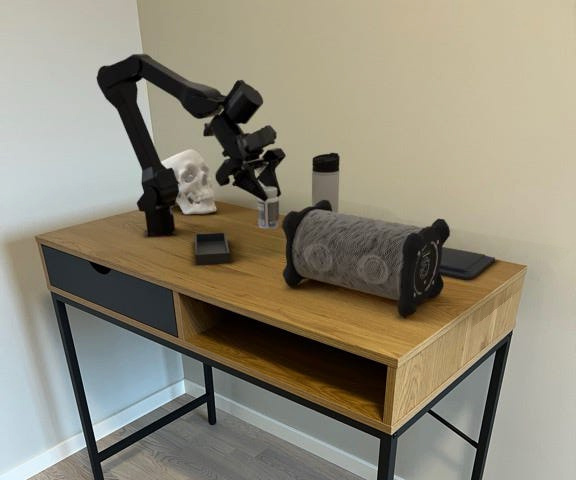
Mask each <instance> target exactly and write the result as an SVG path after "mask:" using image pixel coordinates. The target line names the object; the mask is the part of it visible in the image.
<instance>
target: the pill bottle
mask: <svg viewBox="0 0 576 480" xmlns="http://www.w3.org/2000/svg"><path fill="white" fill-rule="evenodd" d="M262 188H263V189H264V191H265V193H266V195H267V197H268V199H267V200H266V201H263V200H261V199H259V198H258V197H257V217H258V218H257V221H258V223H257V225H258V227H259V228H260V229H263V230H264V229H265V230H274V229H277V228H279V227H280V199H279V197H277V196H276V195H277V188H276V187H270V186H269V187H265V186H262Z"/></svg>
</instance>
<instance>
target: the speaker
mask: <svg viewBox="0 0 576 480" xmlns="http://www.w3.org/2000/svg"><path fill="white" fill-rule="evenodd" d="M281 222H282V223H281V228H282V230H283V233H284V235H285V240H286V242H285V260H286V265H285V267H284V269H283V270H282V277H283V279H284V282H285V284H286V285H287V287H289V288H296V287H297V286H298V285H299V284H300V283H301V282H302V281H303V280H308V279H311V280H315V281H319V282H323V283H327V284H331V285H334V286H339V287H342V288H346V289H349V290H354V291H358V292H362V293H366V294H370V295H375V296H378V297H381V298H386V299H387V300H390V299H391V300H394V301H397V303H396V308H397V312H398V314H399V316H400V317H403V318H406V317H408V316H409V317H410V316H411V315H413V314H415V313H417V308H418V307H420V306H421V305H423V304H424V303H425V302H426V301H427V300H428V299H434V298H437V297H439V296H440V295H441V293H442V291H443V289H444V287H445V286H444V285H445V283H444V280H443V277H442V275H441V274H440V272H439V271H440V265H441V258H442V247H444V245H445V243H446V242H447V240H448V239H449V237H450V236H451V229H450V226H449V224H448V223H447V221H446V219H444V218H437V219H436V220H435V221H433V222H432V224H431V225H430V226H426V227H423V226H422V227H421V226H417V225H409V224H404V223H399V222H393V221H386V220H382V219H375V218H370V217H365V216H363V217H362V216H360V215H359V216H358V215H354V214H348V213H347V214H346V213H340V212H338V213H336V212H332V207H331V204H330V202H329V201H328V200H321V201H319V202H318V203H316V204H315V206H312V205H311V206H307V207H304V208H302V210H300V211H295V210H291V211H290V212H288V213H287V214H286V215H284V218H283V219H282V221H281Z"/></svg>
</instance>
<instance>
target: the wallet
mask: <svg viewBox="0 0 576 480" xmlns="http://www.w3.org/2000/svg"><path fill="white" fill-rule="evenodd" d="M495 261H496V257H494V256H489V255H486V254H483V253H478V252H473V251H468V250H463V249H456V248H451V247H445V246H442V258H441V265H440V271H439V272H440V275H441V276H444V277H445V276H446V277H450V278H454V279H459V280H465V281H467V280H473V279H474V278H475V277H477V276H478V275H479V274H480V273H481V272H483V271H484V270H485V269H486V268H488V267H489V266H490V265H491V264H493V263H494V262H495Z"/></svg>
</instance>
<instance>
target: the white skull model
mask: <svg viewBox="0 0 576 480" xmlns="http://www.w3.org/2000/svg"><path fill="white" fill-rule="evenodd" d="M161 163H162V165H164V166H165V167H166V168H167V169H168V168H172V169H173V170H174V173H175V177H176V179H177V181H178V182H179V184H178V187H179V193H178V196H177V198H176V202H175V205H174V206H171V207H170V209H172V208H174V207H177V206H179V207H180V209H181V211H182V213H183V214H184V215H186V216H187V215H207V214H211V213H214V212H216V211H217V206H216V203H215V194H214V192H213V190H212V189H211V188H212V187H213V181H212V179H211V177H210V166H209V165H208V164H207V163H206V161H205V159H204V158H203V157H202V156H201V154H200V153H199V152H198V151H197V150H195V149H193V148H190V149H189V148H188V149H185V150H184V151H183V150H182V151H181V152H179V153H177V154H174V155H172V156H170V157H168V158H165V159H164V160H162V161H161ZM191 202H192V203H191Z"/></svg>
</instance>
